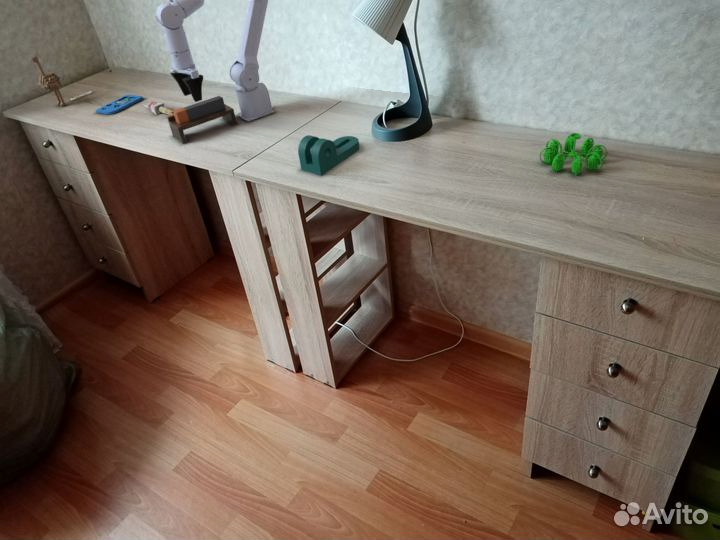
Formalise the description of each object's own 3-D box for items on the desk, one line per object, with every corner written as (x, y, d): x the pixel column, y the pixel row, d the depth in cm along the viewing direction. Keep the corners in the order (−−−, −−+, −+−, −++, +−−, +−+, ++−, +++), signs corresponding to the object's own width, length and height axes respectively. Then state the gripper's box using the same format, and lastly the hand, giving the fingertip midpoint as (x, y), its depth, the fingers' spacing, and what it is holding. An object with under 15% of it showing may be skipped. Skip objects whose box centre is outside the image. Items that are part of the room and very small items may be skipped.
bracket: (321, 175, 139) (316, 146, 134) (301, 170, 143) (296, 141, 138) (364, 146, 150) (361, 118, 145) (345, 142, 153) (341, 114, 148)
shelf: (226, 117, 177) (221, 98, 173) (237, 124, 172) (232, 104, 168) (173, 136, 169) (166, 116, 166) (183, 143, 164) (176, 124, 160)
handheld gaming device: (94, 109, 192) (126, 93, 202) (95, 112, 193) (127, 96, 203) (111, 111, 189) (142, 95, 199) (112, 114, 190) (143, 98, 200)
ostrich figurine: (57, 110, 200) (34, 59, 189) (47, 107, 203) (24, 57, 192) (97, 93, 210) (78, 44, 199) (88, 91, 213) (68, 43, 202)
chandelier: (525, 164, 133) (527, 137, 129) (565, 143, 139) (568, 116, 135) (579, 185, 123) (584, 156, 119) (619, 161, 129) (625, 133, 125)
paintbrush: (148, 96, 191) (181, 109, 180) (151, 104, 193) (183, 117, 182) (138, 100, 189) (171, 114, 178) (141, 108, 191) (173, 122, 180)
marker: (221, 106, 171) (218, 95, 169) (225, 108, 169) (222, 97, 167) (176, 121, 165) (172, 110, 163) (179, 124, 163) (176, 113, 161)
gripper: (156, 49, 159) (171, 96, 167) (175, 58, 149) (190, 107, 157) (179, 43, 162) (192, 89, 170) (199, 52, 152) (212, 100, 160)
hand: (193, 97), depth 164 cm, fingers open, 7 cm apart
